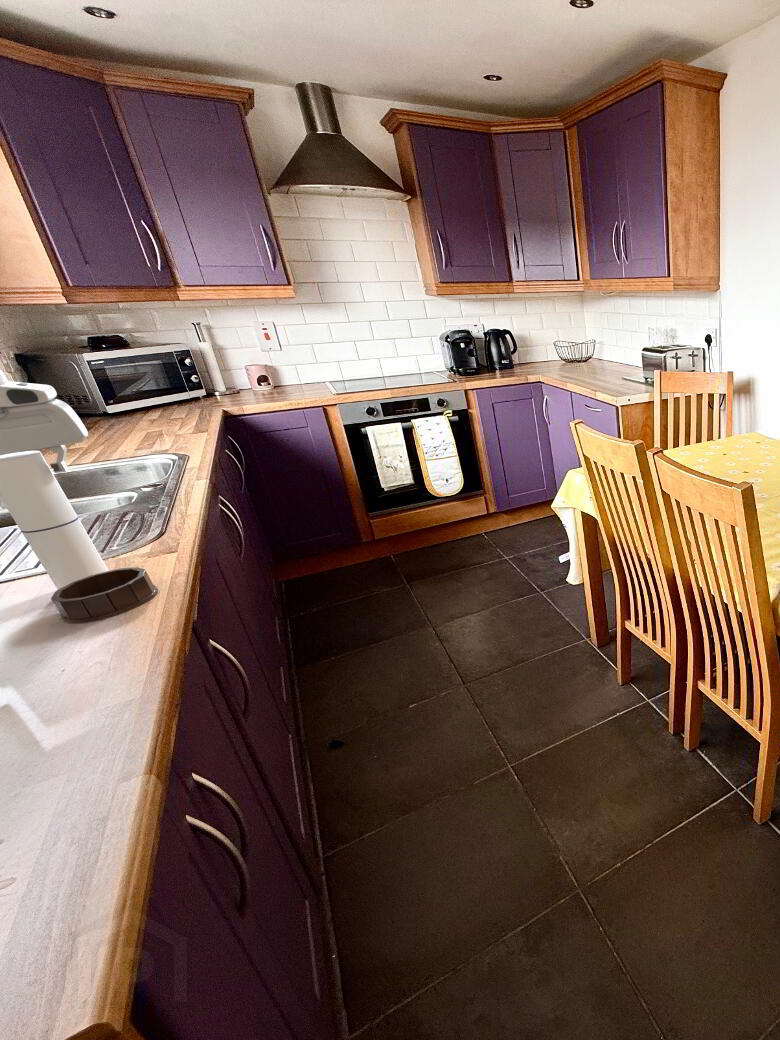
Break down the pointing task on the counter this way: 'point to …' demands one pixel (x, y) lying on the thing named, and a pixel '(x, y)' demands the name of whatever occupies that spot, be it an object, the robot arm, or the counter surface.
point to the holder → (104, 595)
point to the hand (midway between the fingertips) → (23, 478)
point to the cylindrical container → (47, 518)
